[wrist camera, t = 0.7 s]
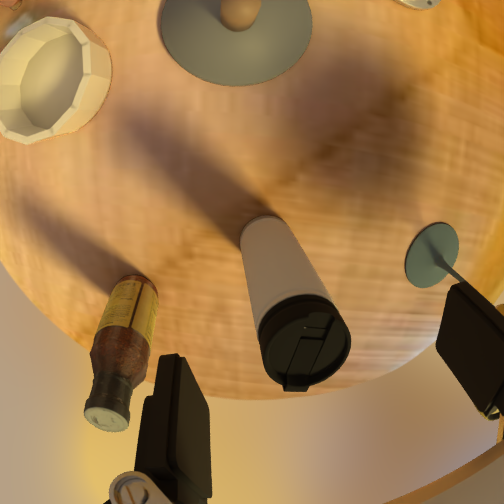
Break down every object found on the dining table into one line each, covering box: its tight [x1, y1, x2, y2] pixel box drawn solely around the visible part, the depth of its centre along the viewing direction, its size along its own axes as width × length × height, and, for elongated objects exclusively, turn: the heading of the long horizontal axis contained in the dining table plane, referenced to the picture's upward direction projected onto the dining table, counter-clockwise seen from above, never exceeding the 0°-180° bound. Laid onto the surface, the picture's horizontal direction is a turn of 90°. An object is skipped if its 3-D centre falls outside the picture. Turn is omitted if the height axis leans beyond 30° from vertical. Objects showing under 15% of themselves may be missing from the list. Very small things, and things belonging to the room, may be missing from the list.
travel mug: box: [240, 215, 351, 392], centre depth 28 cm, size 6×7×20 cm
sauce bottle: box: [84, 275, 159, 432], centre depth 29 cm, size 7×6×20 cm
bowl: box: [0, 16, 112, 145], centre depth 23 cm, size 13×13×6 cm
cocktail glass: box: [405, 223, 504, 421], centre depth 30 cm, size 18×18×25 cm
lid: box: [161, 0, 312, 86], centre depth 23 cm, size 16×16×6 cm
